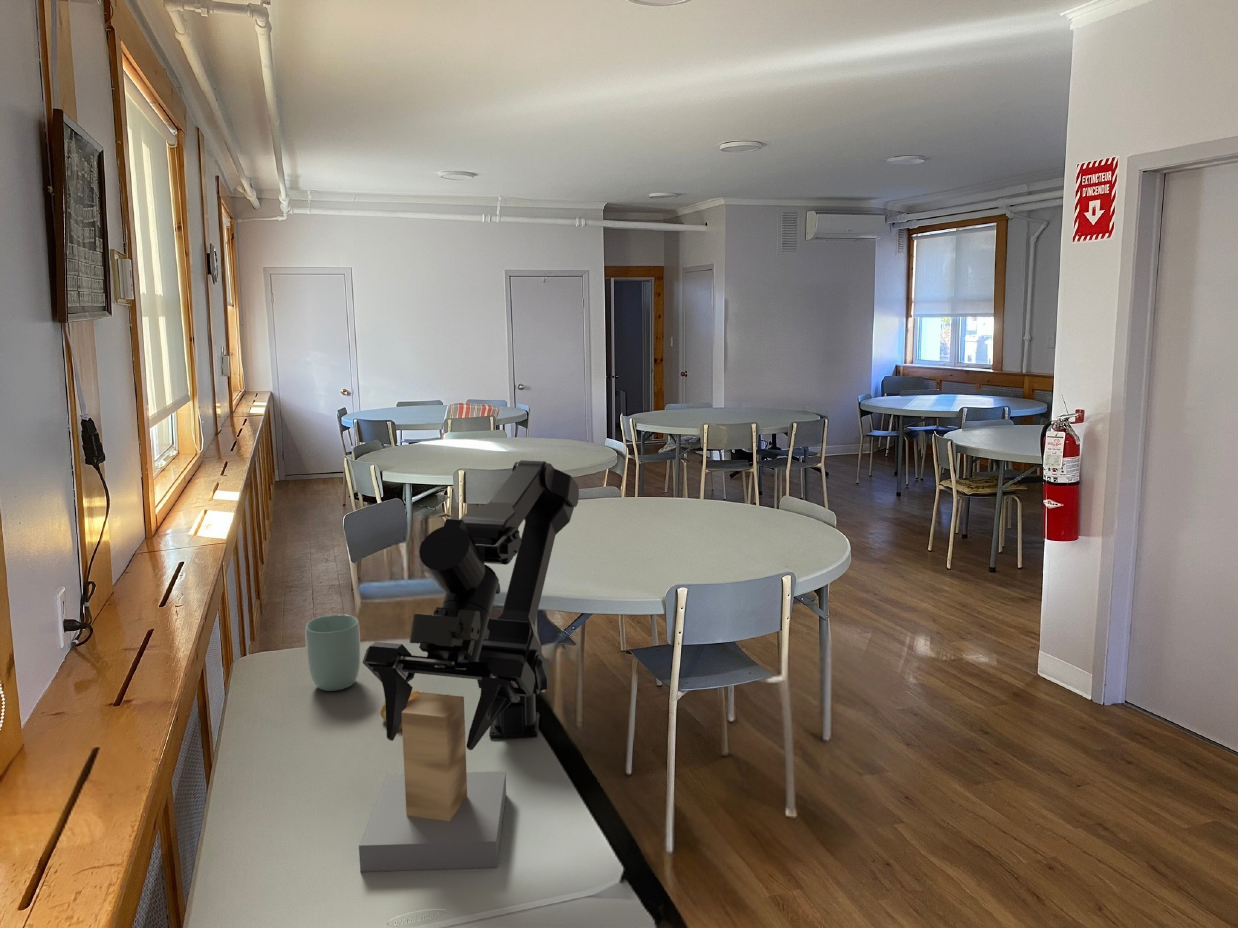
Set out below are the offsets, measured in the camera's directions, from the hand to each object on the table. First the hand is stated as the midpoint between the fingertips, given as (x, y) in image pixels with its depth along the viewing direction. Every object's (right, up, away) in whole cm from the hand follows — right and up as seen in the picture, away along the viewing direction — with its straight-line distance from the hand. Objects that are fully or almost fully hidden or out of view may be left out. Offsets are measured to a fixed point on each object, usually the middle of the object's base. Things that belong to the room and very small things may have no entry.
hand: (429, 743), depth 97 cm
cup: (-23, -4, +41) cm, 47 cm away
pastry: (-8, -6, +30) cm, 31 cm away
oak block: (0, -8, +3) cm, 8 cm away
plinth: (0, -11, +3) cm, 11 cm away
